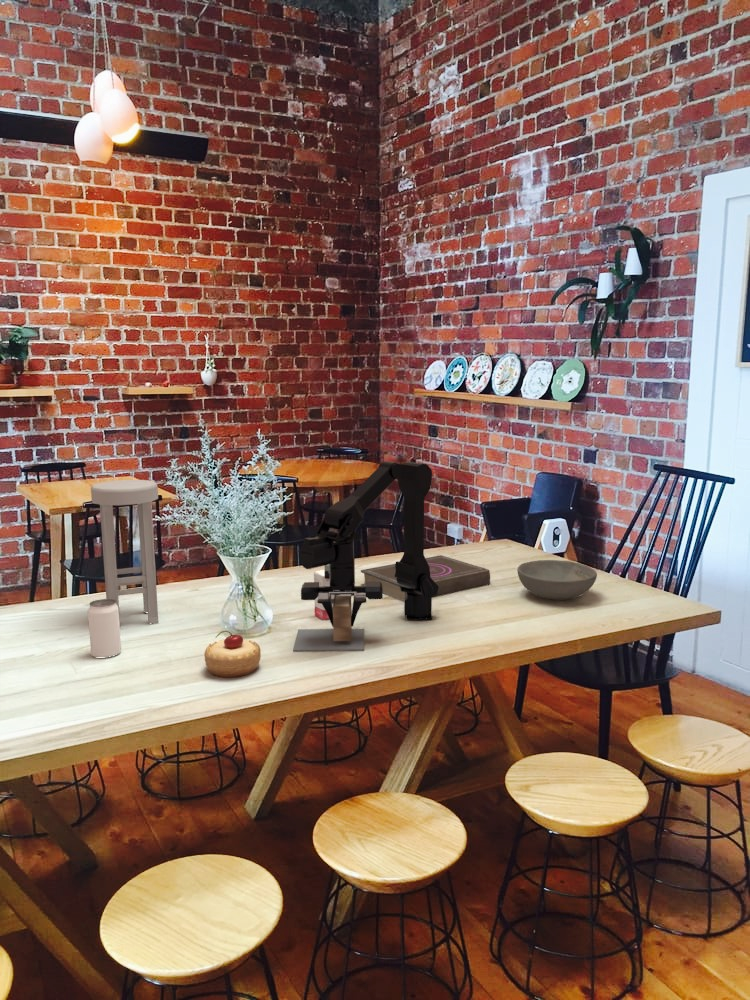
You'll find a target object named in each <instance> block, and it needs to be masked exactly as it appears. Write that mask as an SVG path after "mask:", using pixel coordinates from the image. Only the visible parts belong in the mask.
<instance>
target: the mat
mask: <svg viewBox="0 0 750 1000" xmlns="http://www.w3.org/2000/svg"><path fill="white" fill-rule="evenodd" d="M364 651H365V628H352V633H351V641H334V638H333V628H310V629H308V628H303V629H302V628H301V629H298V630H297V633H296V637H295V642H294V645H293V649H292V652H293V653H295V652H299V653H300V652H364Z"/></svg>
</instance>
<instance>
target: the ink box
mask: <svg viewBox="0 0 750 1000" xmlns="http://www.w3.org/2000/svg"><path fill="white" fill-rule="evenodd" d="M313 582H319V586H330V579H325V569H321V570H316V571H314V572H313ZM333 591H340V590H333ZM345 591H351V590H345ZM334 596H351V597H352V594H338V595H331V599H332V607H333V603H334ZM317 600H318V597H317V598H316V599H315V600H314V616H315V617H317V618H318V619H320V620H322V621H326V620H330V619H329V617H328V614H327V612H326V610H325V608H324V607H323V605H322V604H321V603H317Z"/></svg>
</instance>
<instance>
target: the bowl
mask: <svg viewBox="0 0 750 1000" xmlns="http://www.w3.org/2000/svg"><path fill="white" fill-rule="evenodd" d="M517 577H518V579H519V580H520V583H521V584H522V586H523V587H524V588H525V589H526V590H527V591H529V592H530V593H531V594H533V595H535V596H537V597H539V598H543V599H546V600H553V601H555V600H556V601H560V600H561V601H564V600H571V599H575V598H578V597H580V596H582V595H584V594H586V593H587V592H589V590H590V589H591V588H592V587H593V585H594V584H595V582H596V581H597V577H598V574H597V571H596V570H595V569H593V568H592V567H591V566H588V565H587V564H584V563H579V562H575V561H570V560H569V561H568V560H559V559H558V560H555V559H542V560H541V559H539V560H533V561H528V562H523V563H521V564H520V565H518V567H517Z"/></svg>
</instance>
